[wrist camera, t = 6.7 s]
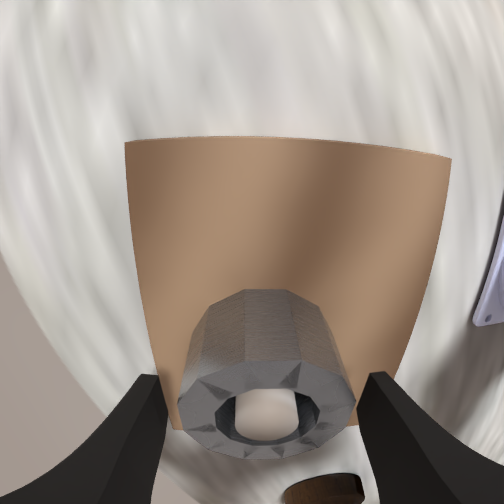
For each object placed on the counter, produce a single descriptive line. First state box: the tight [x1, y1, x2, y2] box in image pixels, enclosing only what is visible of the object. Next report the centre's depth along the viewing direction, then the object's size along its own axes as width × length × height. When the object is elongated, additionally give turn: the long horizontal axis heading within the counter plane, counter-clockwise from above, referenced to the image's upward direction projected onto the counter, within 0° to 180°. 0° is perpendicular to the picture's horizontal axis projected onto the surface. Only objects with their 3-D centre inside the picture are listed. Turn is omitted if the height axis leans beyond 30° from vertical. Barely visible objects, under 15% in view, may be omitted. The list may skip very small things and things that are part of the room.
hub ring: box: [177, 289, 356, 459], centre depth 10 cm, size 5×5×4 cm
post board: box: [125, 136, 452, 441], centre depth 10 cm, size 11×14×5 cm
